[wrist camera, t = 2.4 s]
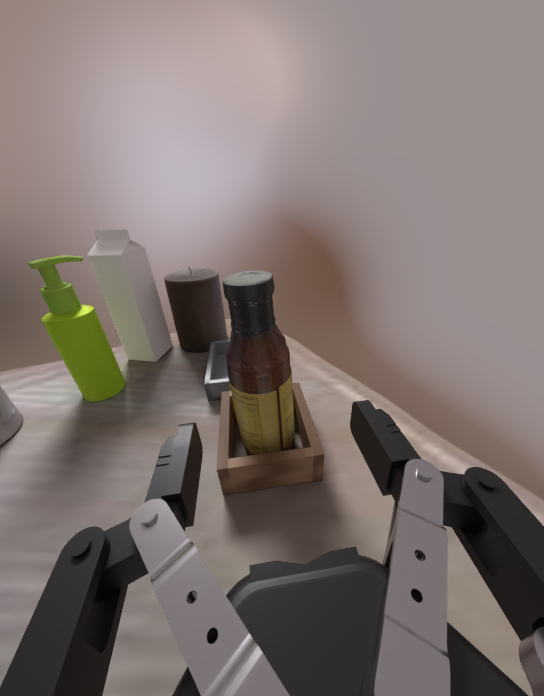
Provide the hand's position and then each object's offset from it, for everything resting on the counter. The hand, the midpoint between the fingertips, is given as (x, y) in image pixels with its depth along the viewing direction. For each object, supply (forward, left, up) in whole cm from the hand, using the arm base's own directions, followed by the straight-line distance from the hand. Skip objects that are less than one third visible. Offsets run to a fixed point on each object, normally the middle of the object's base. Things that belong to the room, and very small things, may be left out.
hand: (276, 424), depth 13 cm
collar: (0, +11, -15) cm, 19 cm away
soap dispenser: (-24, +26, -15) cm, 39 cm away
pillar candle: (-10, +39, -15) cm, 44 cm away
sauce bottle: (0, +11, -15) cm, 19 cm away
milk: (-20, +36, -15) cm, 44 cm away
